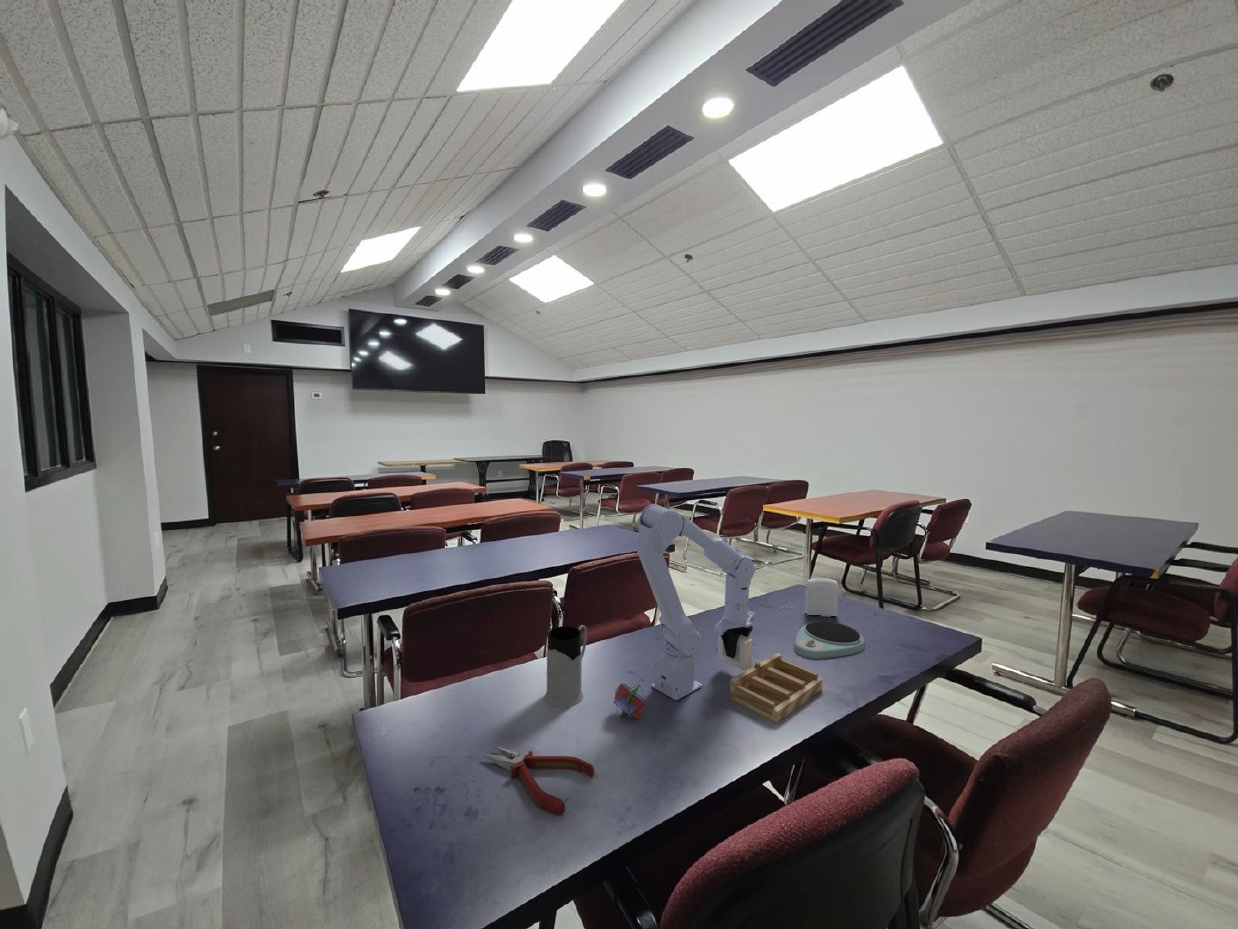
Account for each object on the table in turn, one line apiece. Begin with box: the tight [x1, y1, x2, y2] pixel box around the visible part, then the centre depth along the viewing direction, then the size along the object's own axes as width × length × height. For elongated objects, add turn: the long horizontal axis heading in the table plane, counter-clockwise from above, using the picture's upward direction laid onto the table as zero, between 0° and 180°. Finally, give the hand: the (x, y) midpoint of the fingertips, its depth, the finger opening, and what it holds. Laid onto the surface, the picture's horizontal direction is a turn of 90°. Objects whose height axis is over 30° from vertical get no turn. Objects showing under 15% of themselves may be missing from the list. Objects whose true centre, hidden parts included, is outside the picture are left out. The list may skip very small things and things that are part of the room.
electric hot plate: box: [793, 620, 866, 660], centre depth 142 cm, size 18×4×25 cm
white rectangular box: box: [717, 634, 753, 672], centre depth 123 cm, size 3×8×7 cm, turn 41°
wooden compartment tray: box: [729, 652, 824, 723], centre depth 114 cm, size 20×12×5 cm, turn 132°
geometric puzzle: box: [612, 683, 647, 720], centre depth 105 cm, size 7×7×8 cm
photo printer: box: [804, 577, 839, 617], centre depth 162 cm, size 10×4×12 cm, turn 85°
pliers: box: [483, 745, 595, 816], centre depth 88 cm, size 12×20×3 cm, turn 62°
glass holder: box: [544, 624, 588, 709], centre depth 114 cm, size 9×14×15 cm, turn 154°
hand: (734, 654), depth 123 cm, fingers closed on white rectangular box, 3 cm apart
